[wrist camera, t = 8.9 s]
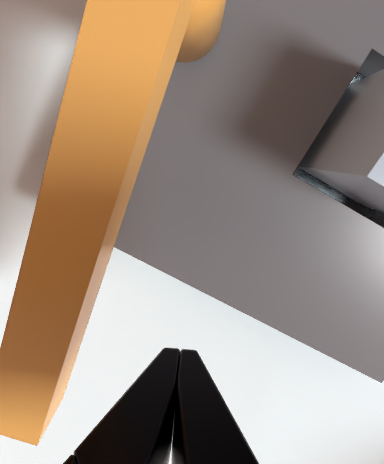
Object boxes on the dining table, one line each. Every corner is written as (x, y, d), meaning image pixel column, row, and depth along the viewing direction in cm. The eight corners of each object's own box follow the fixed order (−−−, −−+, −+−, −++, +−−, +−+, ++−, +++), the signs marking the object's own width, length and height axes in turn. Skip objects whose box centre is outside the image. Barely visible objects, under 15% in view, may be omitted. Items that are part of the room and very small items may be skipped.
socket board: (327, -402, 9) (362, -548, 7) (713, -69, 11) (821, -115, 9) (65, 203, 14) (45, 211, 13) (359, 355, 16) (381, 382, 15)
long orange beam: (232, -4, 10) (276, -190, 5) (111, 331, 14) (54, 450, 8) (162, -36, 10) (118, -271, 4) (58, 312, 14) (-38, 422, 8)
